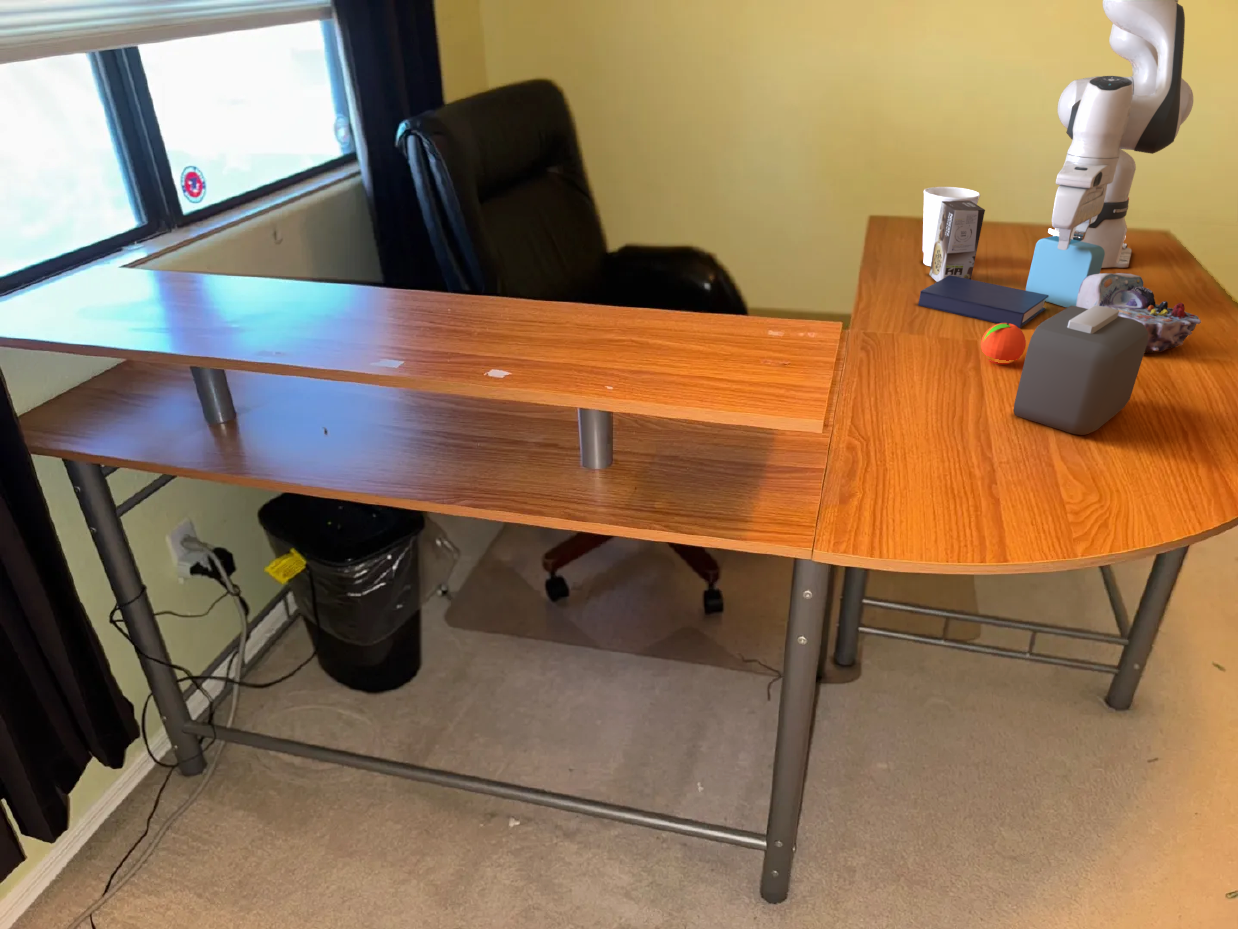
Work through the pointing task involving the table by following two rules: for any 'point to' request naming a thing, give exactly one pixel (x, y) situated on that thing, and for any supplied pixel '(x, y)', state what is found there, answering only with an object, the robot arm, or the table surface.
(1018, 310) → the book
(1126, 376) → the alarm clock
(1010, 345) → the clementine
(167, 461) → the table surface
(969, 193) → the cup
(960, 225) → the coffee box
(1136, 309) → the cell model
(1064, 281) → the data package
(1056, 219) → the robot arm
